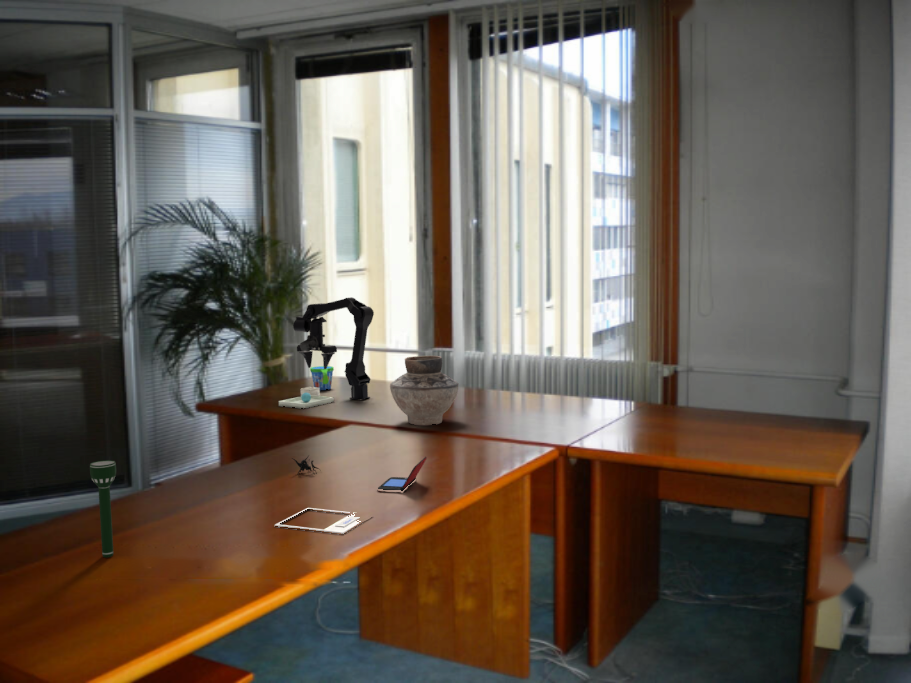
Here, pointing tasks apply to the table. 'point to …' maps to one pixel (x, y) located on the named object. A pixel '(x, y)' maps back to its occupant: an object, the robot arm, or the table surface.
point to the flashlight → (104, 500)
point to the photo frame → (337, 527)
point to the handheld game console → (402, 479)
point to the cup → (311, 391)
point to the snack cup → (322, 377)
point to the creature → (305, 465)
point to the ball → (306, 397)
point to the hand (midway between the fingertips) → (317, 368)
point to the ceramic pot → (424, 390)
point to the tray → (301, 404)
